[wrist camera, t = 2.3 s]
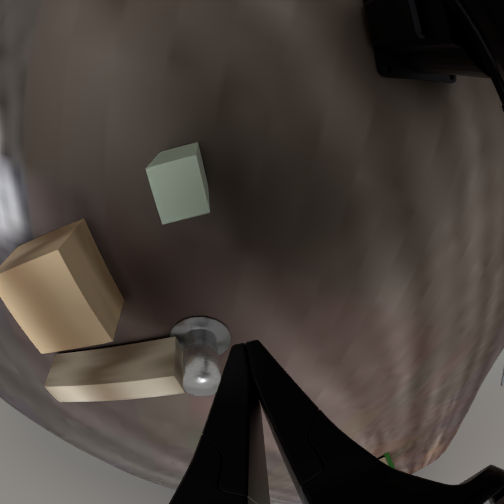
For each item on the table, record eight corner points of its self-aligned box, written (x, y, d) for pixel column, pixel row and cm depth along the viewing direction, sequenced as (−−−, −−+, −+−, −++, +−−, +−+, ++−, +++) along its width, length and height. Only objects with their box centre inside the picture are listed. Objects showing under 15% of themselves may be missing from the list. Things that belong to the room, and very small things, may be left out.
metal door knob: (222, 310, 19) (228, 357, 15) (236, 352, 21) (244, 397, 18) (160, 323, 19) (155, 370, 15) (181, 362, 21) (181, 407, 17)
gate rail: (175, 336, 19) (173, 375, 16) (184, 354, 20) (184, 392, 17) (55, 354, 19) (44, 386, 16) (68, 369, 20) (58, 401, 17)
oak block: (85, 216, 15) (58, 249, 11) (125, 298, 18) (113, 341, 14) (18, 245, 15) (-11, 278, 11) (59, 314, 18) (41, 353, 14)
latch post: (198, 141, 14) (196, 154, 10) (208, 185, 15) (210, 212, 12) (160, 151, 14) (145, 168, 10) (171, 194, 15) (162, 224, 11)
